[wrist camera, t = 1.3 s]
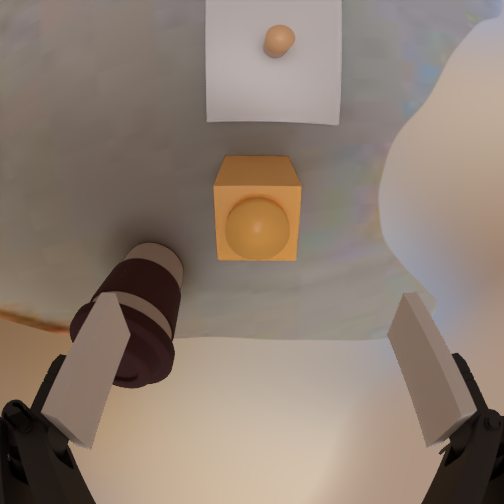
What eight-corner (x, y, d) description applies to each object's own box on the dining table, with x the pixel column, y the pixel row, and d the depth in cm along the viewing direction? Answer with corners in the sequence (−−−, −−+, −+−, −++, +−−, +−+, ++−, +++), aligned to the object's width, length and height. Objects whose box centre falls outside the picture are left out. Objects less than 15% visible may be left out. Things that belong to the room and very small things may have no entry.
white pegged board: (208, 121, 26) (194, 132, 20) (207, -13, 18) (193, -40, 12) (336, 124, 26) (360, 136, 20) (338, -8, 18) (361, -31, 12)
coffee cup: (212, 275, 35) (193, 383, 22) (157, 309, 38) (127, 405, 25) (153, 214, 31) (94, 307, 18) (103, 259, 34) (47, 348, 21)
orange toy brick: (227, 212, 31) (216, 269, 22) (225, 155, 28) (210, 192, 19) (285, 212, 31) (297, 269, 22) (288, 156, 27) (304, 192, 19)
